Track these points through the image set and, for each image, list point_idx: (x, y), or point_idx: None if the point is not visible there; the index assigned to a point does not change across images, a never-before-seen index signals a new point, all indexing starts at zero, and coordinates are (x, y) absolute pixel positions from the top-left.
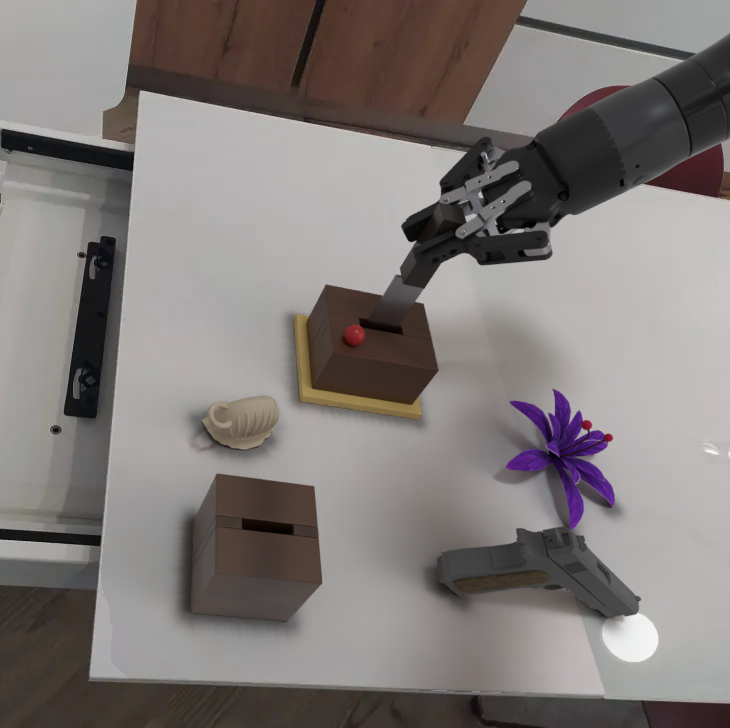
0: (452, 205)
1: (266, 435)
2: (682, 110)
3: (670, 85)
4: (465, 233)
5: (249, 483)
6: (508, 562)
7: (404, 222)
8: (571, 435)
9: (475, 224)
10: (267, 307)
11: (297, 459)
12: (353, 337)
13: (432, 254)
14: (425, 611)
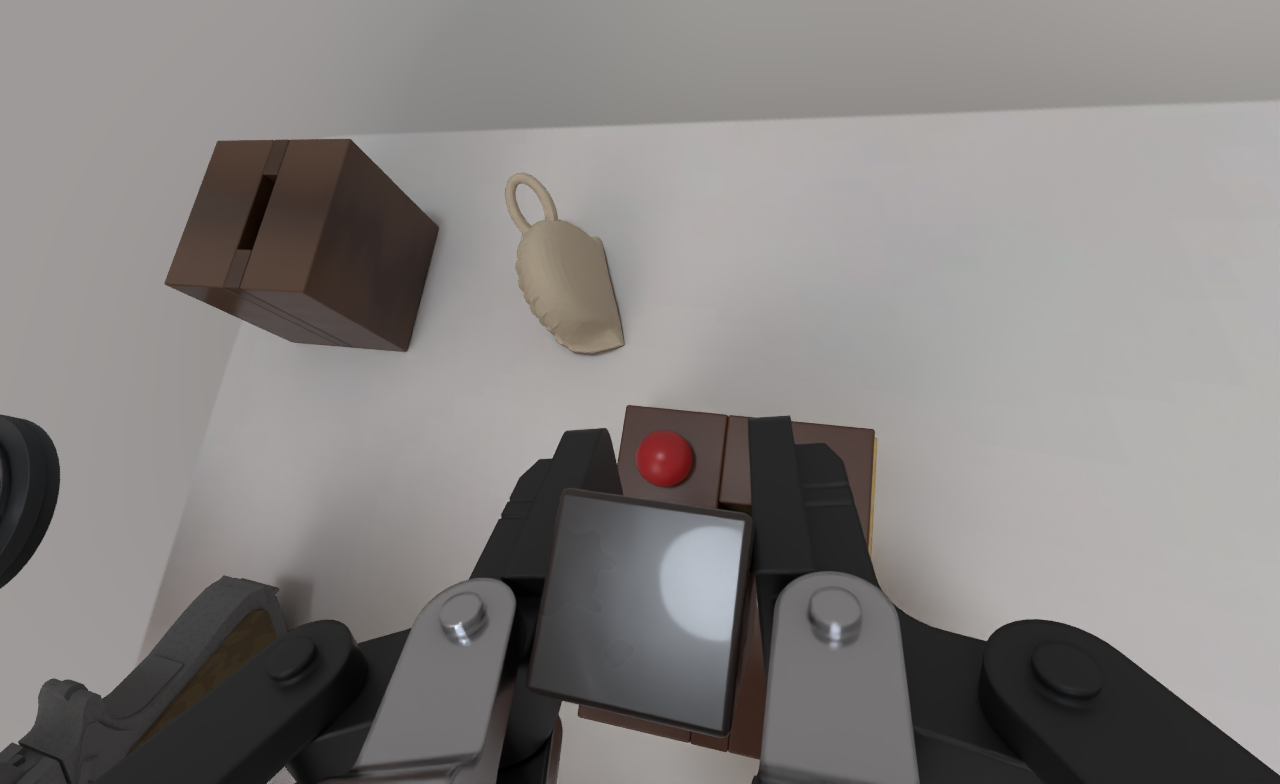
0: (731, 632)
1: (559, 336)
2: None
3: None
4: (432, 626)
5: (324, 185)
6: (129, 683)
7: (787, 419)
8: None
9: (421, 712)
10: (903, 383)
11: (520, 393)
12: (641, 443)
13: (523, 490)
14: (255, 560)
